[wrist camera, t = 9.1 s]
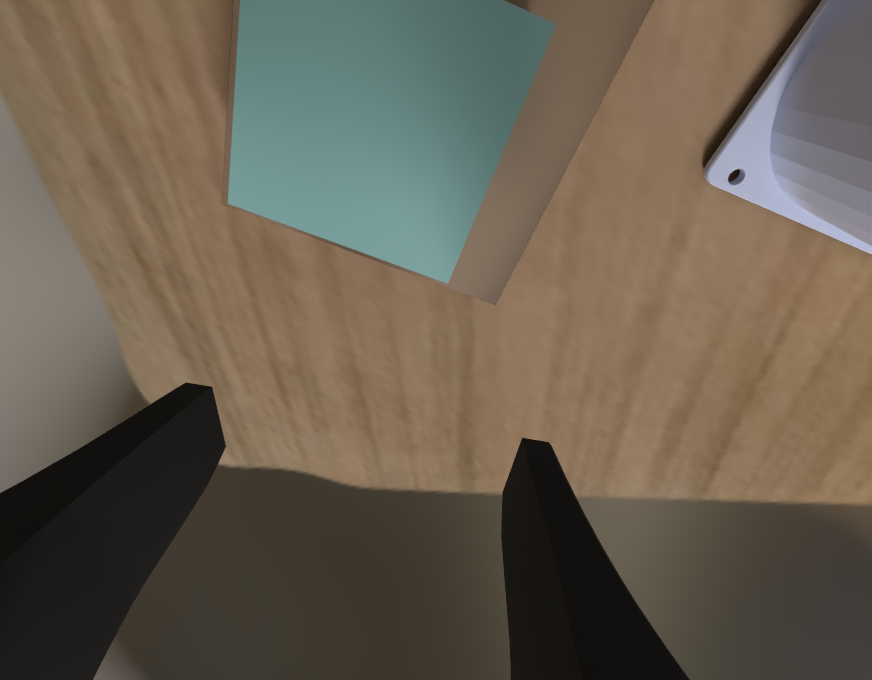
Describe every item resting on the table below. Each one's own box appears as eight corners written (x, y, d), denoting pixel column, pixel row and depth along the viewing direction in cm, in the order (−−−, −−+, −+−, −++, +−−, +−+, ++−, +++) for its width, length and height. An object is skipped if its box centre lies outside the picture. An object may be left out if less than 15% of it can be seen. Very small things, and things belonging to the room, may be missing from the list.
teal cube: (530, 30, 11) (556, 23, 7) (459, 212, 14) (447, 283, 10) (341, -54, 10) (247, -116, 6) (308, 153, 13) (227, 203, 9)
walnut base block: (638, -24, 12) (675, -40, 10) (494, 269, 18) (495, 305, 16) (300, -189, 11) (248, -254, 9) (260, 180, 17) (221, 203, 14)
